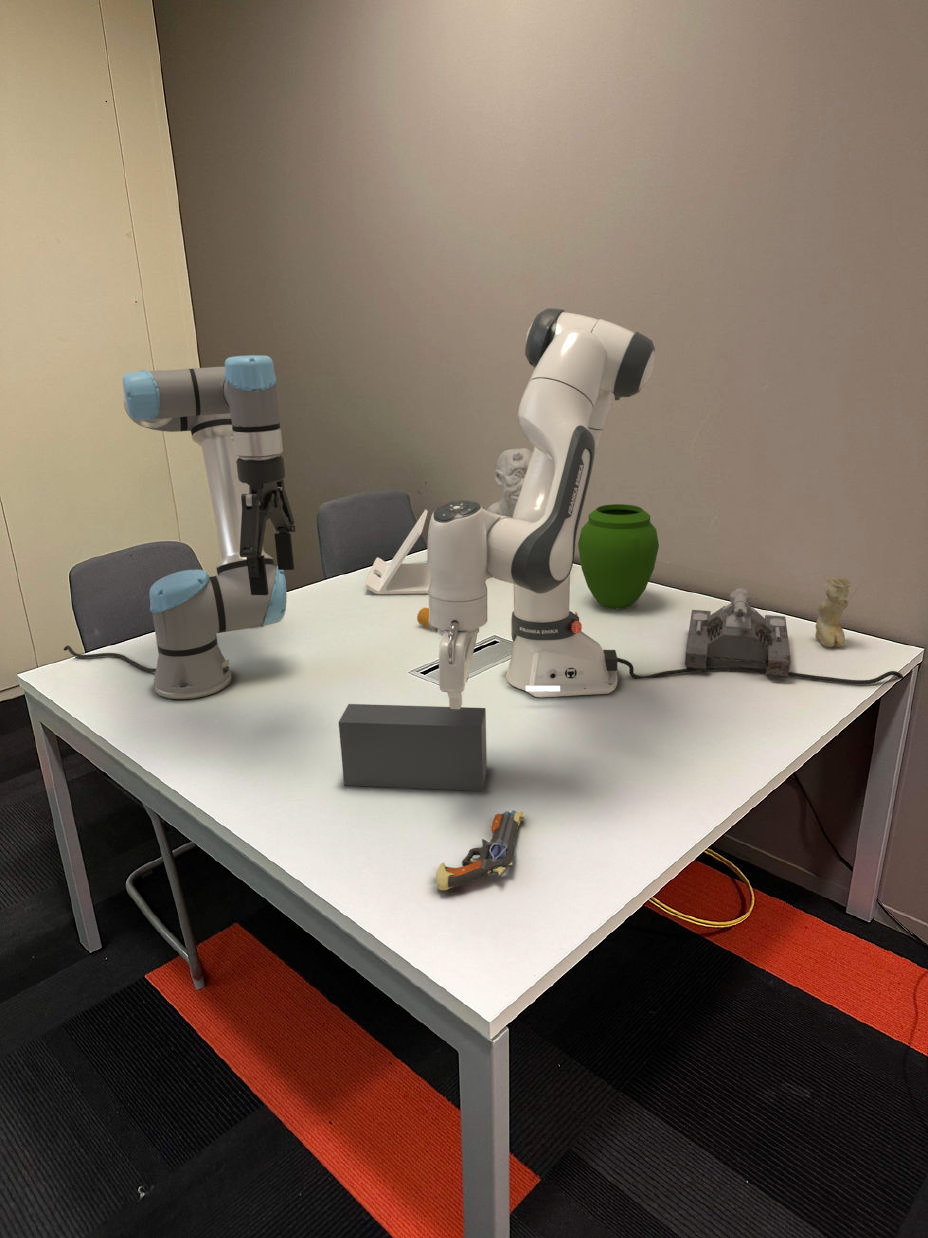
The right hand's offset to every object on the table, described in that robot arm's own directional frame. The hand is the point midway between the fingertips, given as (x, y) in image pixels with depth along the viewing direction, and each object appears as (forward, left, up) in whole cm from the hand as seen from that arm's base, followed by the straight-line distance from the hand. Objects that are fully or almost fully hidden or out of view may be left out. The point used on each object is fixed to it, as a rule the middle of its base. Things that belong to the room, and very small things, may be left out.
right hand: (459, 693), depth 133 cm
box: (+8, 0, -16) cm, 17 cm away
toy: (-52, -55, -16) cm, 77 cm away
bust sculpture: (-4, -109, -16) cm, 110 cm away
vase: (-28, -85, -16) cm, 91 cm away
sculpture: (-73, -62, -16) cm, 97 cm away
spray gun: (+12, -72, -16) cm, 74 cm away
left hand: (+33, -14, +14) cm, 38 cm away
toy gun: (-5, +19, -16) cm, 26 cm away
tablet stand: (+30, -104, -16) cm, 109 cm away
